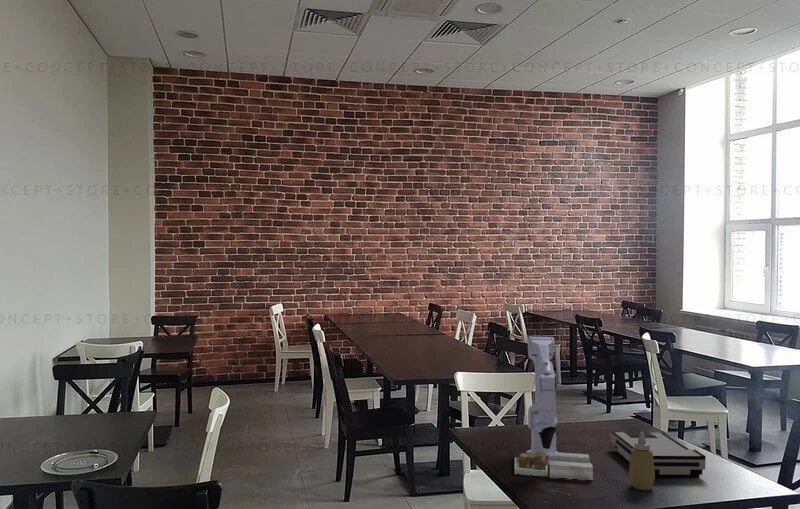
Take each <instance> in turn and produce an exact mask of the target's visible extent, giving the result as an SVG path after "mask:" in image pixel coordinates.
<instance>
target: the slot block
mask: <svg viewBox="0 0 800 509" xmlns="http://www.w3.org/2000/svg"><path fill="white" fill-rule="evenodd" d="M547 461H548V463H547V466H548V469H549V470H548V477H549V478H550V479H559V478H566V479H565V480H572V479H578V480H577V481H586V480H594V467H593V464H592V463H591V461H590V456H589V454H588V453H587V454H585V453H572V452H559V451H557V452H548V456H547Z"/></svg>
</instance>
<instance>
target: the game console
mask: <svg viewBox="0 0 800 509" xmlns="http://www.w3.org/2000/svg"><path fill="white" fill-rule="evenodd" d="M638 439H639V435H629V434H627V433H625V432H624V431H623V432H620V431H619V432H618V431H615V432H614V431H613V432H610V442H611V443H613V444H614V449H616V451H617V452H616V454H617V455H618V456H620V457H621V458H622V459H623V460H624V461H626V462H627V463H628V464H629V465H630V458H631V450H632V449H633V448H635V447H634V443H635V442H638ZM645 439H646V442H647V443H649V444H650V449H649V450H651V451H652V452H653V461H654V472H655V478H661V477H662V475H668V476H669V475H670V476H671V475H679V476H680V477H682V478H700V476H703V470H706V455H705V454H703V453H702V452H699V450H696V449H689V447H687V446H685V445H683V444H682V443H680V442H678V441H677V440H675V439H674V438H672V437H671V436H670V435H668V434H666V433H665V432H650V433H649V435H645Z"/></svg>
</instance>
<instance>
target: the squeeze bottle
mask: <svg viewBox="0 0 800 509" xmlns="http://www.w3.org/2000/svg"><path fill="white" fill-rule="evenodd" d="M638 436H639V439H638V442H635V443H634V447H635V448H633V449H632V450H631V458H630V464H629V467H628V468H629V469H628V478H629V480H630V483H631V484H630V485H631V486H632V487H633V488H634V489H636V490H640V491H650V490H651V489H652V487H653V485H654V481H655V479H656V477H655V472H654V461H653V452H652V451H651V450H649V449H650V444H649V443H647V442H646V439H645V436H646V435H645V432H644V431H640V433H639V435H638Z"/></svg>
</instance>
